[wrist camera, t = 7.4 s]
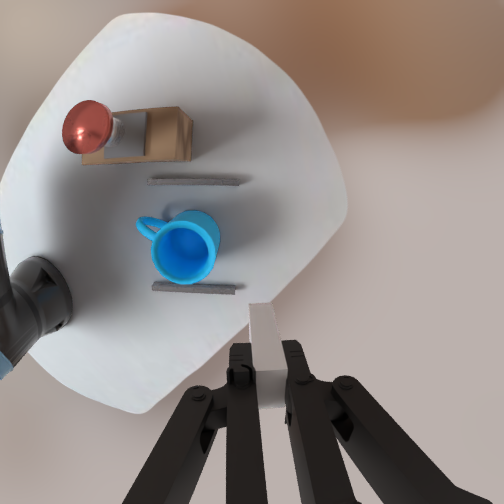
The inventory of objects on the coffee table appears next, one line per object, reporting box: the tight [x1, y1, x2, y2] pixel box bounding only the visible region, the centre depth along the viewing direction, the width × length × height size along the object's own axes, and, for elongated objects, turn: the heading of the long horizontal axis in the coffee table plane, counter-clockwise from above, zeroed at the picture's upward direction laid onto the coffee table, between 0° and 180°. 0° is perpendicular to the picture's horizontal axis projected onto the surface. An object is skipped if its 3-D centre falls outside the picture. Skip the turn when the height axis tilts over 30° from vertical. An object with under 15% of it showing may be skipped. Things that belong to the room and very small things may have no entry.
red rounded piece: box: [62, 100, 125, 154], centre depth 21 cm, size 5×5×6 cm
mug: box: [136, 210, 220, 284], centre depth 37 cm, size 12×8×8 cm
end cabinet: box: [82, 107, 193, 165], centre depth 31 cm, size 6×12×11 cm, turn 87°
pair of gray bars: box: [147, 179, 239, 295], centre depth 40 cm, size 13×17×2 cm
